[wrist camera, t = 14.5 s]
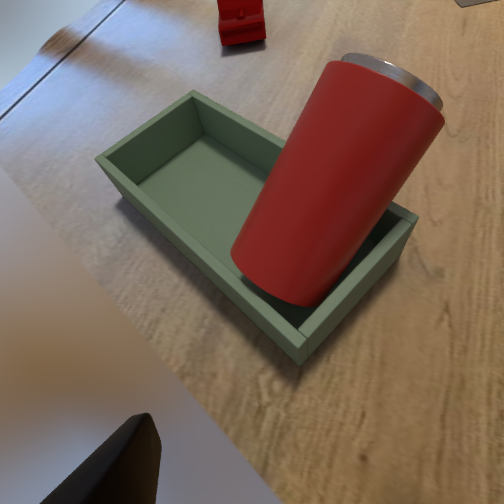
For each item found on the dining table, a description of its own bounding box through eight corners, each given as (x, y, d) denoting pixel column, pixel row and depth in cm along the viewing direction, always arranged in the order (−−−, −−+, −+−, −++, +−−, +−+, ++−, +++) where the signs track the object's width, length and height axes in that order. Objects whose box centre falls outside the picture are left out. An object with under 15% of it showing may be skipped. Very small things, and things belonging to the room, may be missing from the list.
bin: (299, 367, 20) (298, 349, 16) (122, 195, 29) (93, 158, 25) (400, 255, 22) (419, 216, 18) (207, 131, 32) (193, 89, 28)
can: (337, 321, 18) (484, 118, 14) (232, 281, 16) (367, 34, 12) (307, 267, 23) (405, 112, 20) (227, 232, 22) (317, 55, 18)
